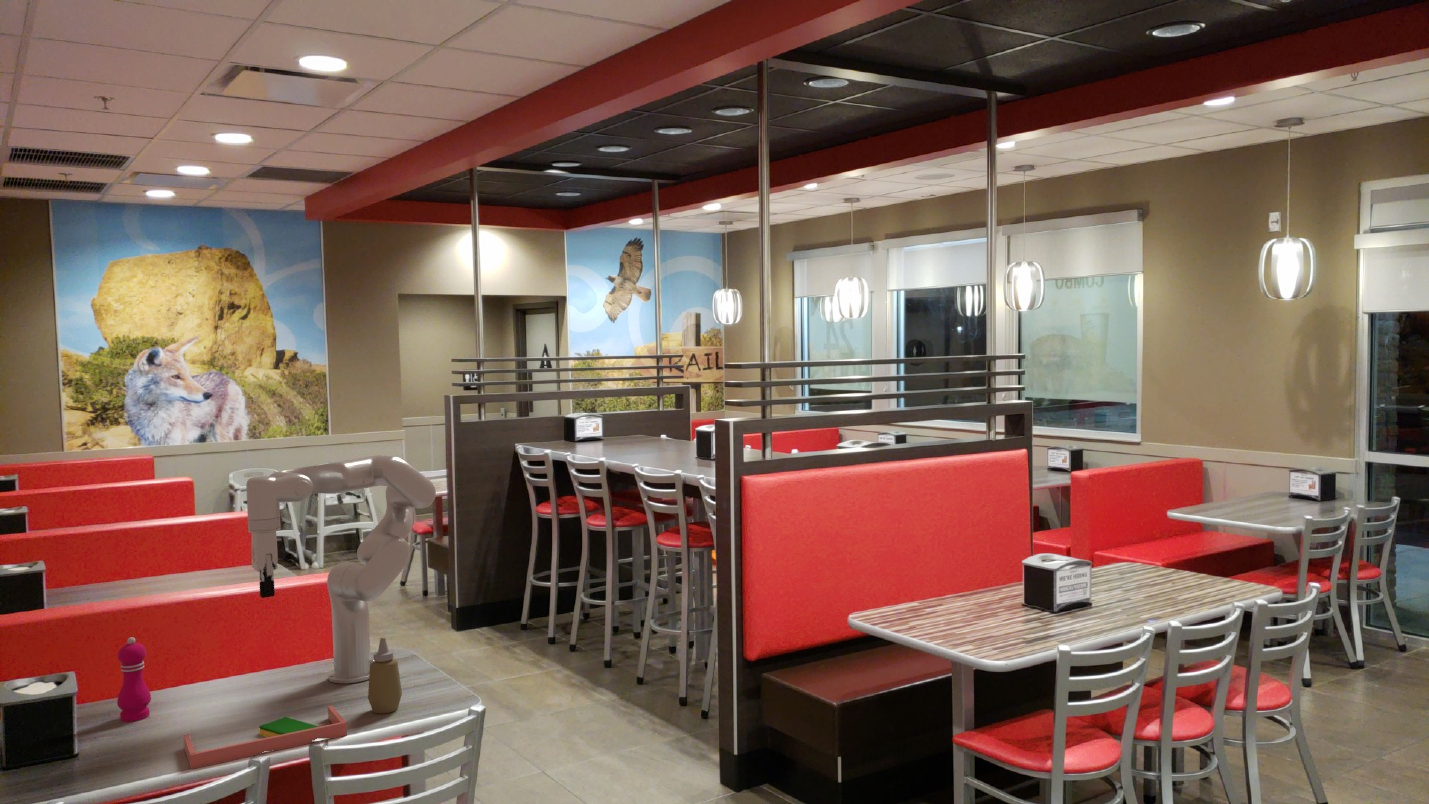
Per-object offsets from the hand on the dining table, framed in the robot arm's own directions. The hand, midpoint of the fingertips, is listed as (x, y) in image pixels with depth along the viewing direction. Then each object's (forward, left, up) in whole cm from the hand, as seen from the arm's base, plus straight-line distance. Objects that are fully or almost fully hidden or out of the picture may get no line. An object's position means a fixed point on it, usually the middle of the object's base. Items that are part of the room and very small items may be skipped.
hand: (267, 596), depth 255 cm
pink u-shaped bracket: (+6, +30, -27) cm, 41 cm away
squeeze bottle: (-22, +25, -27) cm, 43 cm away
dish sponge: (+1, +28, -28) cm, 40 cm away
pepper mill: (+30, -8, -27) cm, 41 cm away
